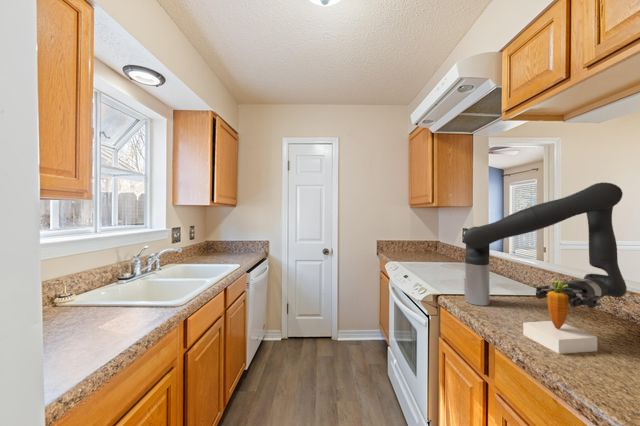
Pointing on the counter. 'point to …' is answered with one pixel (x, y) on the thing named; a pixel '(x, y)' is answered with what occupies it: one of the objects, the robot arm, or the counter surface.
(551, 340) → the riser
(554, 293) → the carrot
